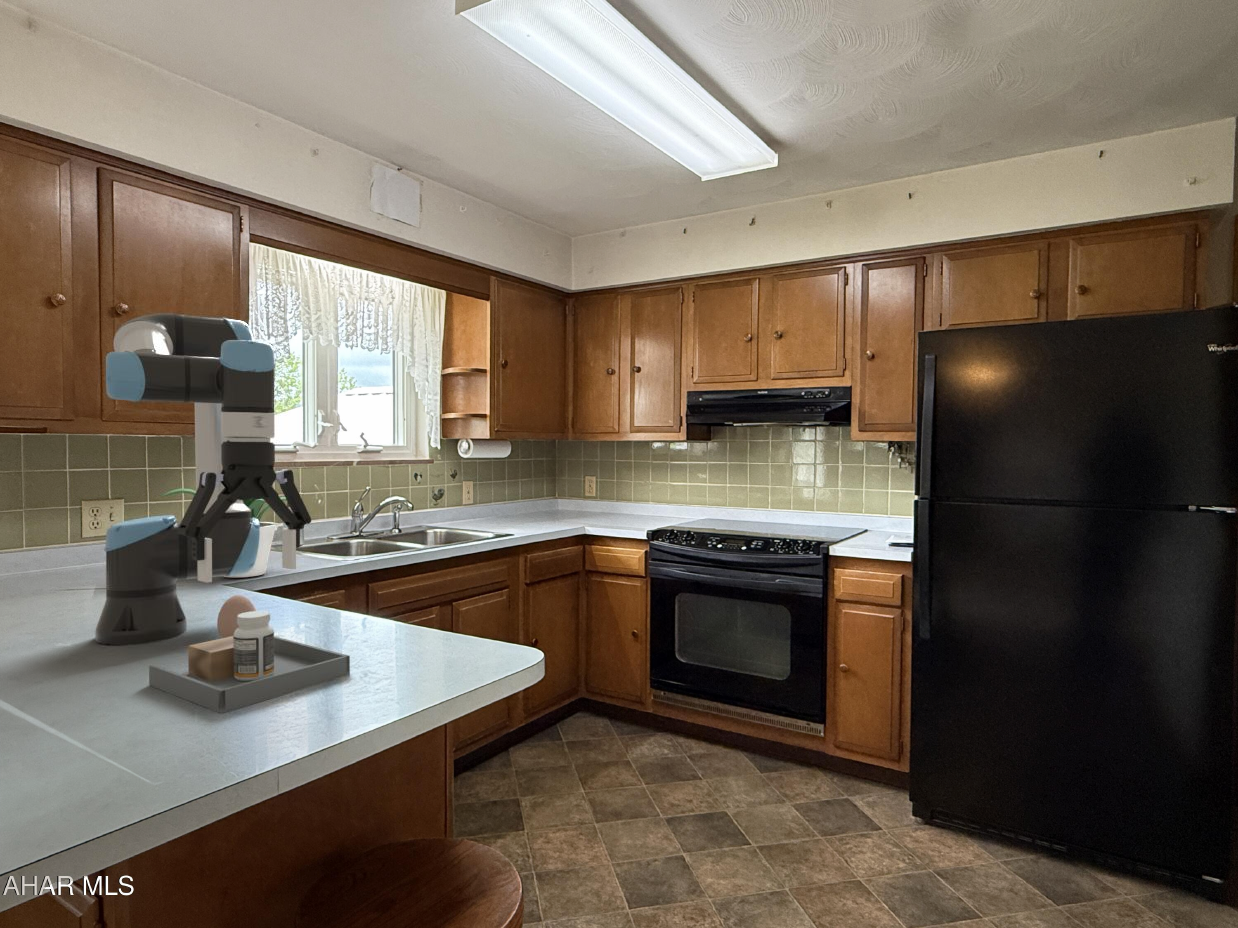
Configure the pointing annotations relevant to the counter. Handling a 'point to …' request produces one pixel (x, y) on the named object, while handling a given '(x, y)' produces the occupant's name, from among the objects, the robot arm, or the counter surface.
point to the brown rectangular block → (212, 659)
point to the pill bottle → (253, 646)
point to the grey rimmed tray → (291, 673)
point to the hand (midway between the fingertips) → (249, 574)
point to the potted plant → (265, 533)
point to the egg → (232, 614)
